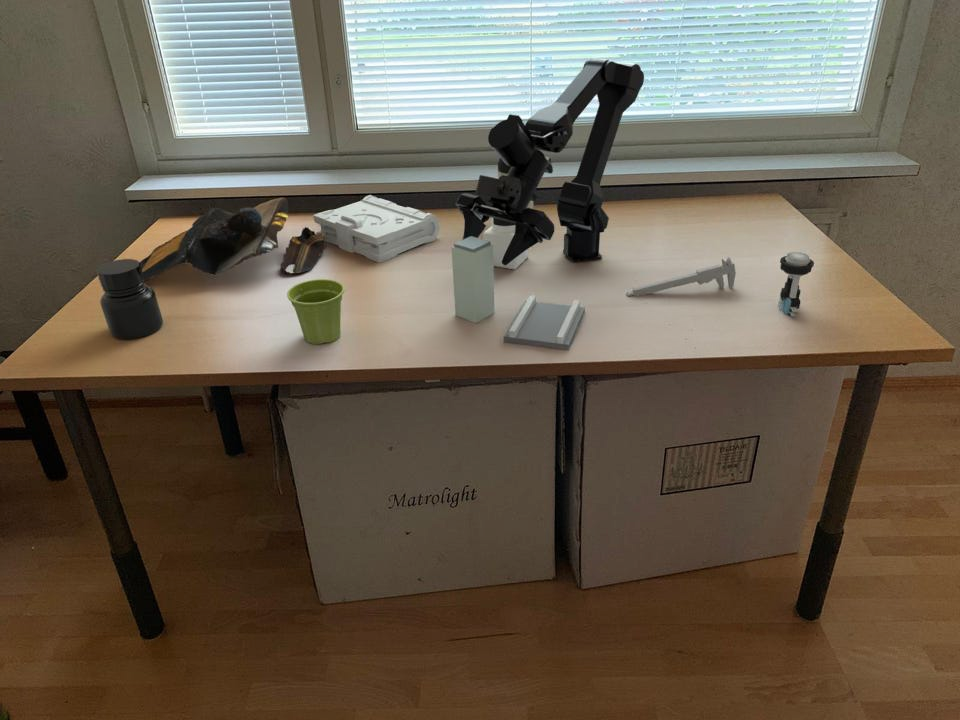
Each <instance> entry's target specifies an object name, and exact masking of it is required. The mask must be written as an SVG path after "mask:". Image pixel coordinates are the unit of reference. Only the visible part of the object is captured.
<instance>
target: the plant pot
mask: <svg viewBox="0 0 960 720" xmlns="http://www.w3.org/2000/svg"><path fill="white" fill-rule="evenodd" d="M344 292H345V286H344V285H343V283H342V282H340V281H337V280H334V279H329V278H320V279H317V278H316V279H310V280H305V281H302V282H299V283H297V284H294V285H293V286H291V287H290V288H289V289H288V291H287V293H286V297H287V299H288V300H289V301H290V302H291V305H292V306H293V308H294V310H295V313H296V317H297V320H298V323H299V325H300V329H301V332H302V335H303V337H304V339H305V341H306V342H307V343H310V344H313V345H322V344H323V343H329V344H330V343H332V342H335V341H336V340H337V339H339V337H340V336H341V321H342V320H341V315H342V314H341V312H342V310H341V309H342V306H341V305H342V300H343V295H344Z"/></svg>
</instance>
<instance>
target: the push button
mask: <svg viewBox="0 0 960 720" xmlns="http://www.w3.org/2000/svg"><path fill="white" fill-rule="evenodd" d="M779 263H780V266H779V267H780V270H781V271H783V272H784V273H785V274H787V278H786V282H784V286H783V287H781V290H780V294H779V297H780V298H779V300H778V304H777V307H778V309H782V311H783V313H784V314H785V315H790V316H791V317H797V312H798V310H799V309H800V306H801V299H800V296H801V292H802V291H801V289H800V284H799V283H800V279H801V278H802V276H806V275H808V274H809V273H811V271H812V268H813V267H814V264H815V262H814V260H812V259H811V258H810V255H808V254H807V253H804V252H801V251H800V252H799V251H791V252H788V253H787V254H786V255H785V256H782V257H781V258H780V259H779Z"/></svg>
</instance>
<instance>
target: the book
mask: <svg viewBox="0 0 960 720" xmlns="http://www.w3.org/2000/svg"><path fill="white" fill-rule="evenodd" d="M313 220H314V223H316V224H317V225H319V226H320V230H318V231H316V232H315V234H318V233H322V236H323V240H324V242H325V243H331V244H333V245H336V246H338V247H339V249H340V248H341V250H343V251H346V252H348V253H351V254H352V253H357V254H359V255H361V256H364V257H366V259H368V260H370V261H371V260H372V261H374V262H377V263H383V262H386V261H387V260H390V259H392V258H395V257H397V255H398V254H401V253H404V252H406V251H408V250H411V249H413V248H416V247H418V246H420V245H423V244H430V243H432V242H434V241H436V240H437V238H438V236H439V234H440V229H441V223H440V220H439V218H438V216H437V215H435V214H433V213H430V212H427V213H426V212H424V211H421V210H420V209H417V208H413V207H409V206H406V207H405V206H401V205H398V204H397V203H395V202H392V201H390V200H386V199H384V198H380V197H379V198H378V197H377V196H375V195H374V196H373V195H371V194H369V195H366V196H365V197H364V198H363V199H361V200H360V201H357V202H352V203H351V204H348V205H344V206H341V207H338V208H336V209H329V210H325V211H322V212H318V213H315V214H313Z"/></svg>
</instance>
